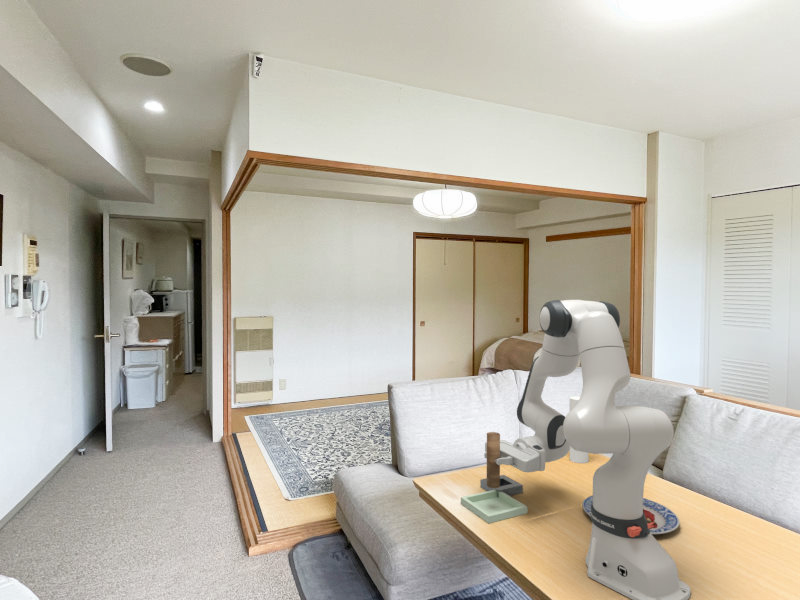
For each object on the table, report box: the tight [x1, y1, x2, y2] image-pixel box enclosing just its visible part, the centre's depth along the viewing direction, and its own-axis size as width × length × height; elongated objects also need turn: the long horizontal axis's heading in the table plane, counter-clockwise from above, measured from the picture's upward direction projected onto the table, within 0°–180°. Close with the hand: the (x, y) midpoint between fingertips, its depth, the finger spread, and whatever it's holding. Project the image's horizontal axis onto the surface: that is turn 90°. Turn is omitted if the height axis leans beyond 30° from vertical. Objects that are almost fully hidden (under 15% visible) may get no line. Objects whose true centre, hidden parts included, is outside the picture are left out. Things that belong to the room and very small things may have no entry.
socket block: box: [479, 474, 524, 497], centre depth 157 cm, size 10×10×3 cm
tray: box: [460, 490, 529, 524], centre depth 143 cm, size 14×14×2 cm
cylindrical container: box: [569, 395, 590, 464], centre depth 186 cm, size 7×7×25 cm
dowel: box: [486, 431, 501, 488], centre depth 143 cm, size 4×4×16 cm
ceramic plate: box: [582, 494, 680, 535], centre depth 138 cm, size 26×26×3 cm
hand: (490, 458), depth 143 cm, fingers closed on dowel, 4 cm apart
